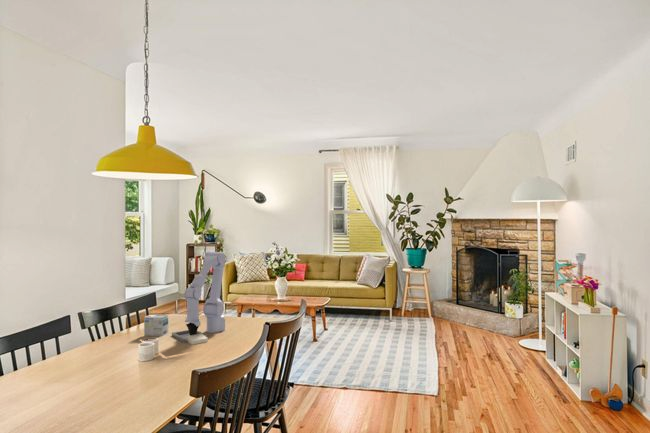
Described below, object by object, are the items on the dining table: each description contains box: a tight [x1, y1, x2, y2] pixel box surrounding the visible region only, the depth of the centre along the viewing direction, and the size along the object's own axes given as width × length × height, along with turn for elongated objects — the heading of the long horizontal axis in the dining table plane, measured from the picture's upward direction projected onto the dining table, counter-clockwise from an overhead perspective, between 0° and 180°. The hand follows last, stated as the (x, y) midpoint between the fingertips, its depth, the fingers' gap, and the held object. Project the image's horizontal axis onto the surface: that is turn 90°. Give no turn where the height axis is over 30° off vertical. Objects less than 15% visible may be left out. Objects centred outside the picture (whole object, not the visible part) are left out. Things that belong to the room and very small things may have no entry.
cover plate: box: [186, 333, 209, 346], centre depth 219 cm, size 8×8×2 cm
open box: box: [171, 329, 208, 344], centre depth 226 cm, size 12×17×2 cm
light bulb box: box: [143, 314, 169, 337], centre depth 233 cm, size 11×7×11 cm, turn 84°
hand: (192, 337), depth 222 cm, fingers closed
